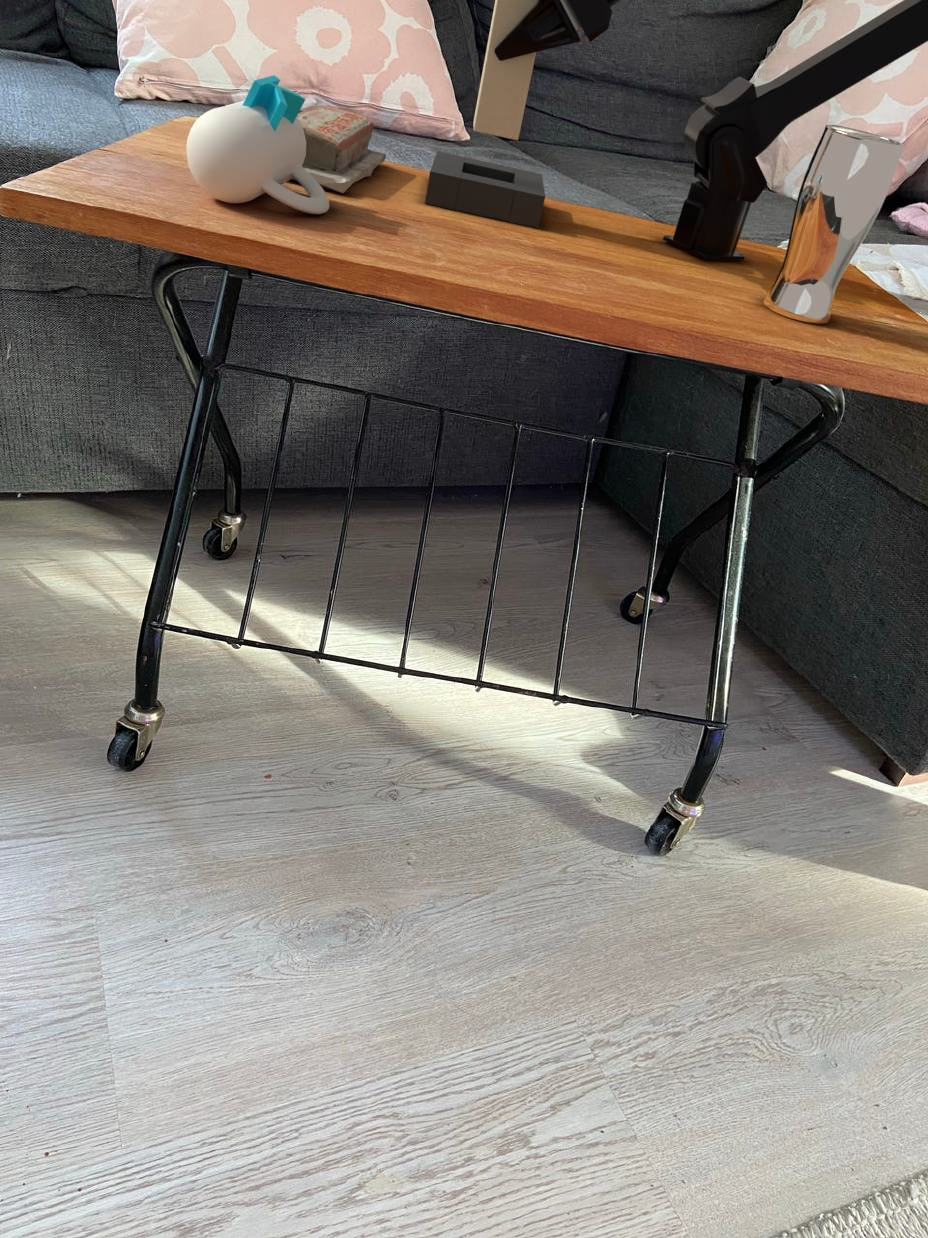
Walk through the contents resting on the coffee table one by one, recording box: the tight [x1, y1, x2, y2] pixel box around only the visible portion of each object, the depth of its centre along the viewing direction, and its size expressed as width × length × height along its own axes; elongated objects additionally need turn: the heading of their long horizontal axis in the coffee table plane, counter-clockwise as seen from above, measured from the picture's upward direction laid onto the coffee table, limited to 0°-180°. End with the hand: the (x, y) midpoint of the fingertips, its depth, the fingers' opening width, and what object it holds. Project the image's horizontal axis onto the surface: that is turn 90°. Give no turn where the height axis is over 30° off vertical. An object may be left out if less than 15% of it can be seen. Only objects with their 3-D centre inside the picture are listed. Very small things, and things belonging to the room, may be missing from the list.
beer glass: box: [763, 124, 905, 325], centre depth 86 cm, size 7×7×15 cm
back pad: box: [472, 0, 537, 141], centre depth 93 cm, size 4×4×13 cm
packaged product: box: [290, 104, 387, 194], centre depth 99 cm, size 18×5×10 cm
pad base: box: [424, 150, 546, 229], centre depth 101 cm, size 11×11×3 cm
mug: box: [185, 74, 330, 215], centre depth 83 cm, size 12×9×12 cm
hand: (495, 52), depth 93 cm, fingers closed on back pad, 4 cm apart
